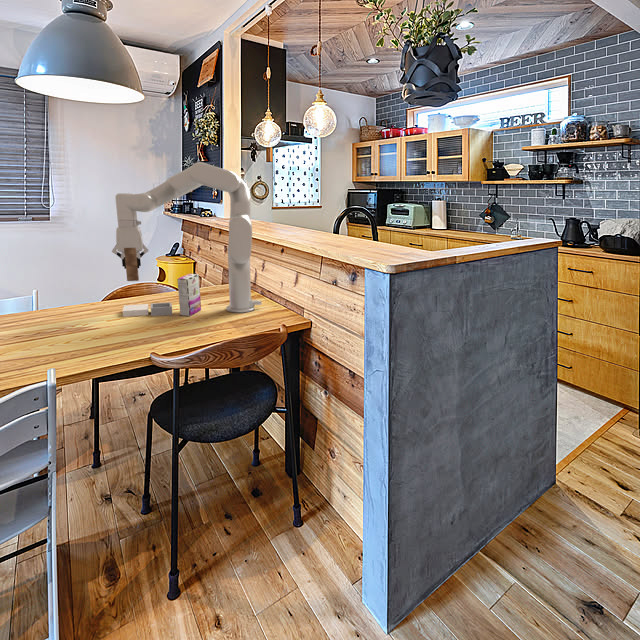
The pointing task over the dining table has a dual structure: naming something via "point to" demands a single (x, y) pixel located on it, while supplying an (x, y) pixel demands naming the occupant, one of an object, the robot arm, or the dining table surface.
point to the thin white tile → (135, 310)
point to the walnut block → (131, 264)
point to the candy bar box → (189, 294)
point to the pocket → (161, 309)
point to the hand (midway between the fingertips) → (131, 267)
